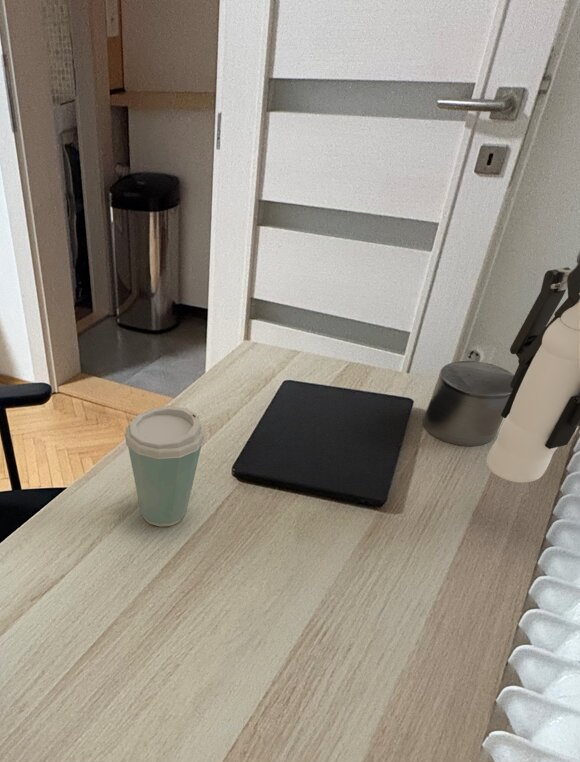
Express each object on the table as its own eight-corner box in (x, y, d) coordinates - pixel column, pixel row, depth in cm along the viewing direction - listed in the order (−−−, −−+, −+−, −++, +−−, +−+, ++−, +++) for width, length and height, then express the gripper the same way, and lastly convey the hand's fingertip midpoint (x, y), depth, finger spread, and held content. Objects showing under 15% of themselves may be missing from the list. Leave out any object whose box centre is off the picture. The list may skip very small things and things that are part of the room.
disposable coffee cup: (140, 543, 86) (139, 451, 76) (116, 499, 93) (113, 409, 83) (209, 526, 89) (219, 434, 78) (181, 484, 96) (186, 395, 85)
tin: (488, 412, 108) (510, 363, 102) (502, 449, 101) (527, 398, 94) (418, 406, 110) (435, 358, 104) (426, 442, 102) (445, 392, 96)
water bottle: (553, 481, 81) (670, 278, 62) (503, 488, 80) (607, 284, 62) (521, 451, 85) (621, 254, 67) (473, 457, 85) (561, 260, 66)
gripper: (531, 204, 67) (456, 398, 84) (698, 263, 54) (570, 479, 71) (586, 195, 69) (501, 388, 85) (762, 252, 56) (621, 466, 72)
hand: (533, 429), depth 78 cm, fingers closed on water bottle, 7 cm apart
